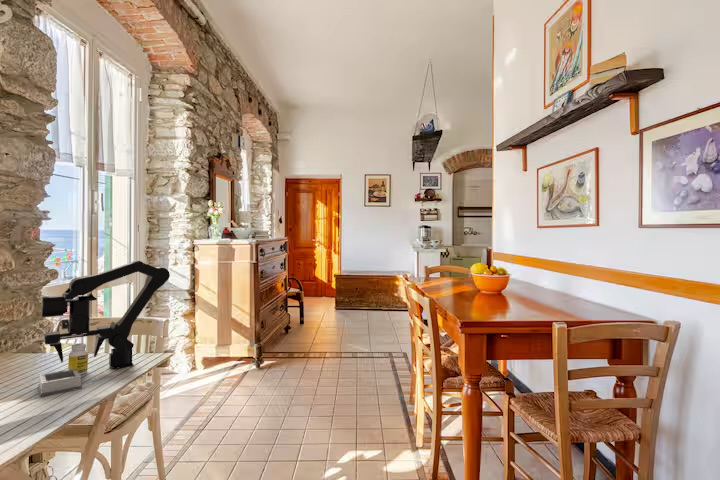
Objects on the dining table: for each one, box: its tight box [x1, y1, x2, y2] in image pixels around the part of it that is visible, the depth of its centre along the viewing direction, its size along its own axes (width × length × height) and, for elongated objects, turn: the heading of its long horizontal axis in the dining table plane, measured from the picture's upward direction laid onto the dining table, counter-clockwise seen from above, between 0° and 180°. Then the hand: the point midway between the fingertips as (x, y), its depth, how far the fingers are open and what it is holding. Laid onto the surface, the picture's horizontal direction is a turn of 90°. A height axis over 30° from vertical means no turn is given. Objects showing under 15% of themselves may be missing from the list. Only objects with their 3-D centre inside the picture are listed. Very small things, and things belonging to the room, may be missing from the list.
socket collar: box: [37, 368, 83, 398], centre depth 120 cm, size 10×10×4 cm
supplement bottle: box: [67, 342, 89, 376], centre depth 133 cm, size 5×5×10 cm
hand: (78, 359), depth 133 cm, fingers open, 9 cm apart
